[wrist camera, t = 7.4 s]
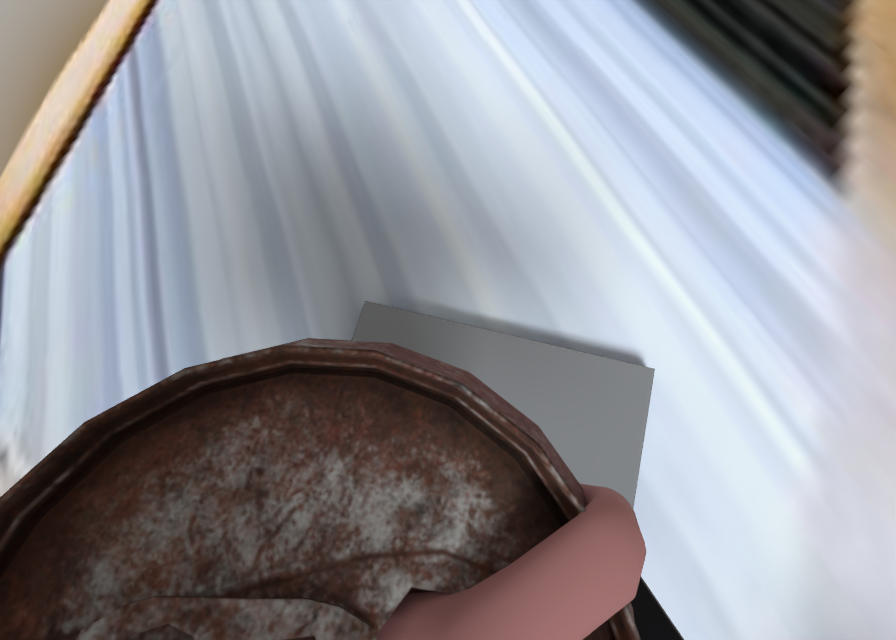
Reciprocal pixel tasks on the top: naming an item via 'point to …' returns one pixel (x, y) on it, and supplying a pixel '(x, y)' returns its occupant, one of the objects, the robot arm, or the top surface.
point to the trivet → (540, 389)
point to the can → (315, 512)
